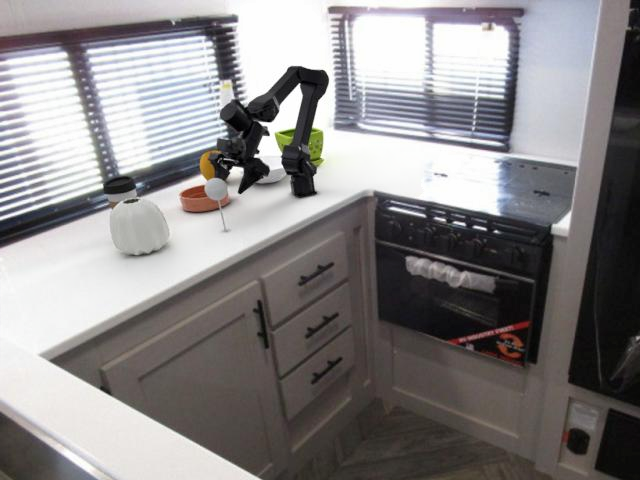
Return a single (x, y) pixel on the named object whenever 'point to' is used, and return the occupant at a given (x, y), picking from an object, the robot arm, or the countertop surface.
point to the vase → (138, 226)
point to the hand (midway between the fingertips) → (227, 191)
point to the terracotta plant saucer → (199, 200)
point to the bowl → (275, 169)
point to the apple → (207, 166)
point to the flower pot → (314, 148)
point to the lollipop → (216, 192)
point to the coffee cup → (119, 189)
